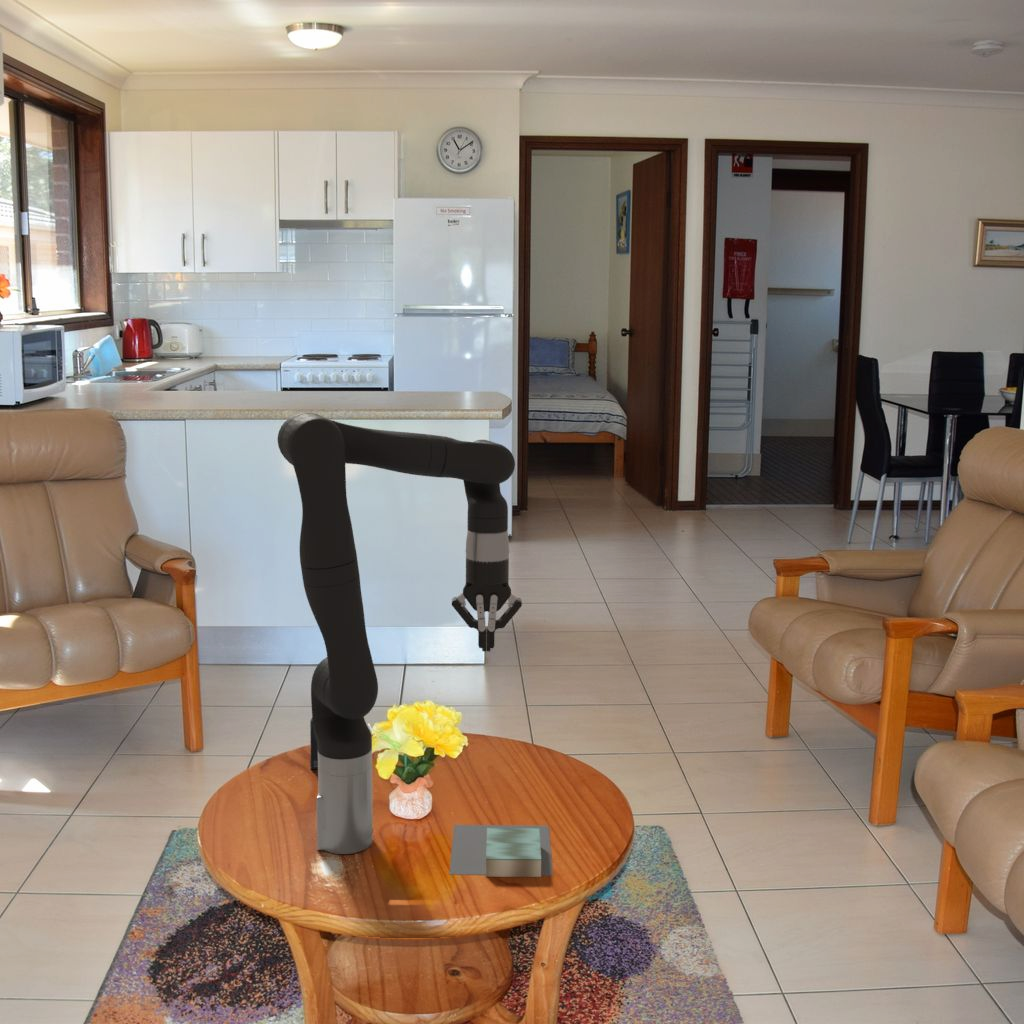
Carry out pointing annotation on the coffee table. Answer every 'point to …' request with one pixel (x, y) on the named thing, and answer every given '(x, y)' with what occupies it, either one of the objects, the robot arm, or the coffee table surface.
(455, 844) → the rubber mat
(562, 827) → the coffee table surface
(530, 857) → the green flat block
